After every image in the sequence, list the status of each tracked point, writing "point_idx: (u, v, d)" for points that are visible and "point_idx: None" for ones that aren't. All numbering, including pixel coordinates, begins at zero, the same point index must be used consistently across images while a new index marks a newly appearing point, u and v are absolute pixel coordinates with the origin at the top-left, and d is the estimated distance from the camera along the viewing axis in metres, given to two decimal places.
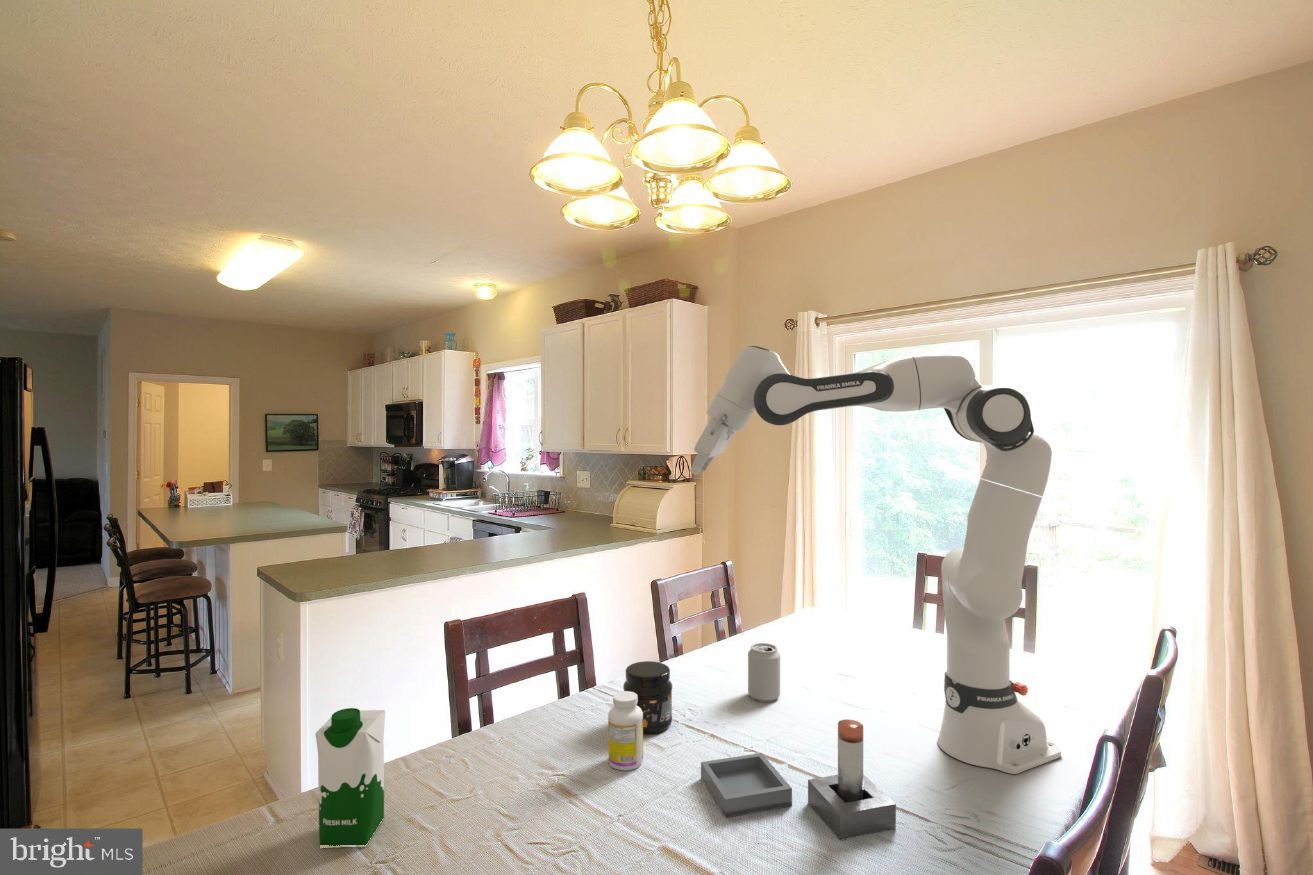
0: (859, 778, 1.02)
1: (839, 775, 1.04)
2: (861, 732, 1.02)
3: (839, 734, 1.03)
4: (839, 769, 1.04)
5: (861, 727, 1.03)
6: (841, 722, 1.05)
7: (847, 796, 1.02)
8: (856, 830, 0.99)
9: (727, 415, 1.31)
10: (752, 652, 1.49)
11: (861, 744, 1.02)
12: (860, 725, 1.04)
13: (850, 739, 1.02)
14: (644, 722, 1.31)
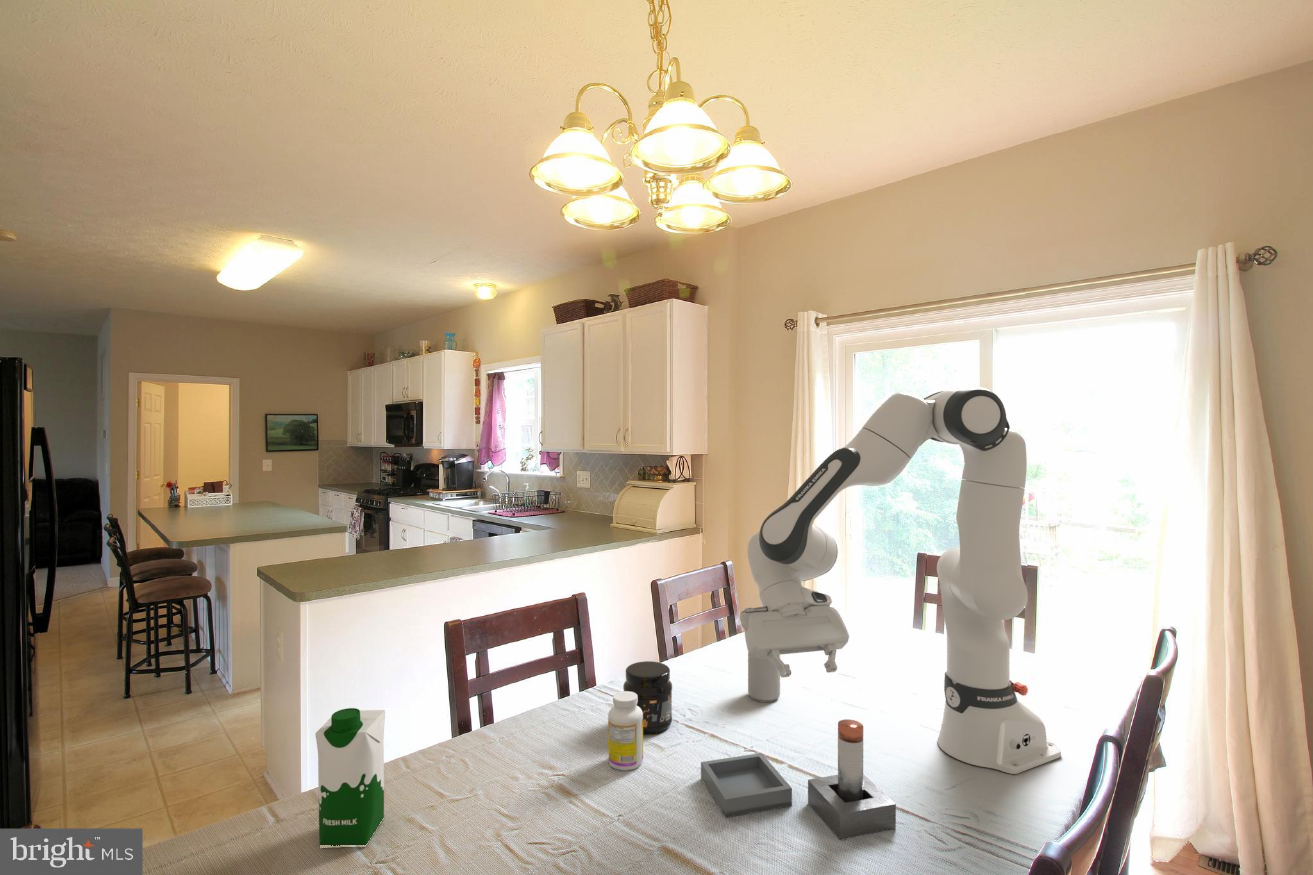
0: (859, 778, 1.02)
1: (839, 775, 1.04)
2: (861, 732, 1.02)
3: (839, 734, 1.03)
4: (839, 769, 1.04)
5: (861, 727, 1.03)
6: (841, 722, 1.05)
7: (848, 796, 1.02)
8: (856, 830, 0.99)
9: (766, 605, 1.24)
10: None
11: (861, 744, 1.02)
12: (860, 725, 1.04)
13: (850, 739, 1.02)
14: (644, 722, 1.31)
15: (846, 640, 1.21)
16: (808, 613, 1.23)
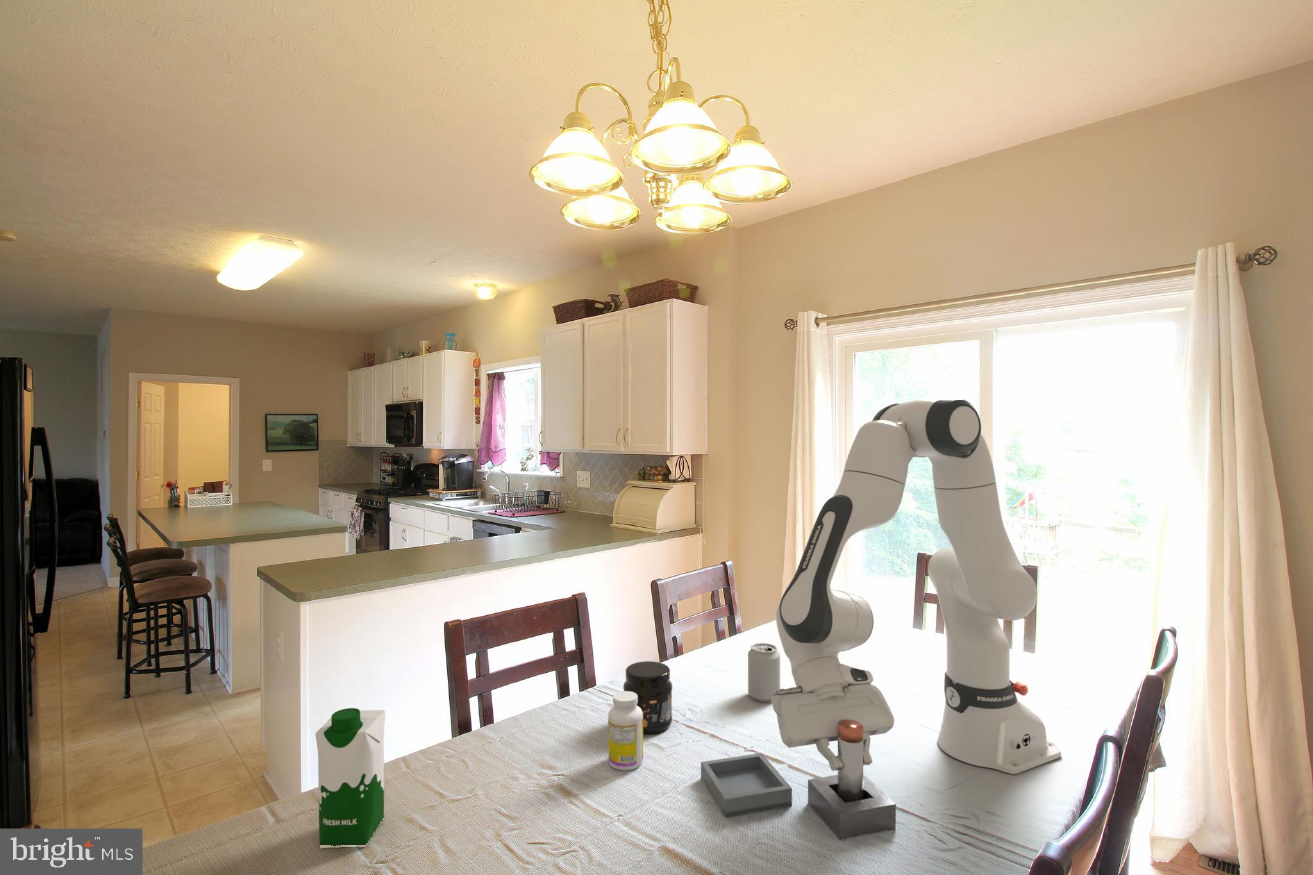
0: (858, 778, 1.02)
1: (839, 775, 1.04)
2: (861, 732, 1.02)
3: (839, 734, 1.03)
4: None
5: (861, 727, 1.03)
6: (841, 722, 1.05)
7: (847, 796, 1.02)
8: (856, 830, 0.99)
9: (800, 684, 1.11)
10: (752, 652, 1.49)
11: (861, 744, 1.02)
12: (860, 725, 1.04)
13: (850, 739, 1.02)
14: (644, 722, 1.31)
15: (891, 725, 1.08)
16: (847, 694, 1.10)
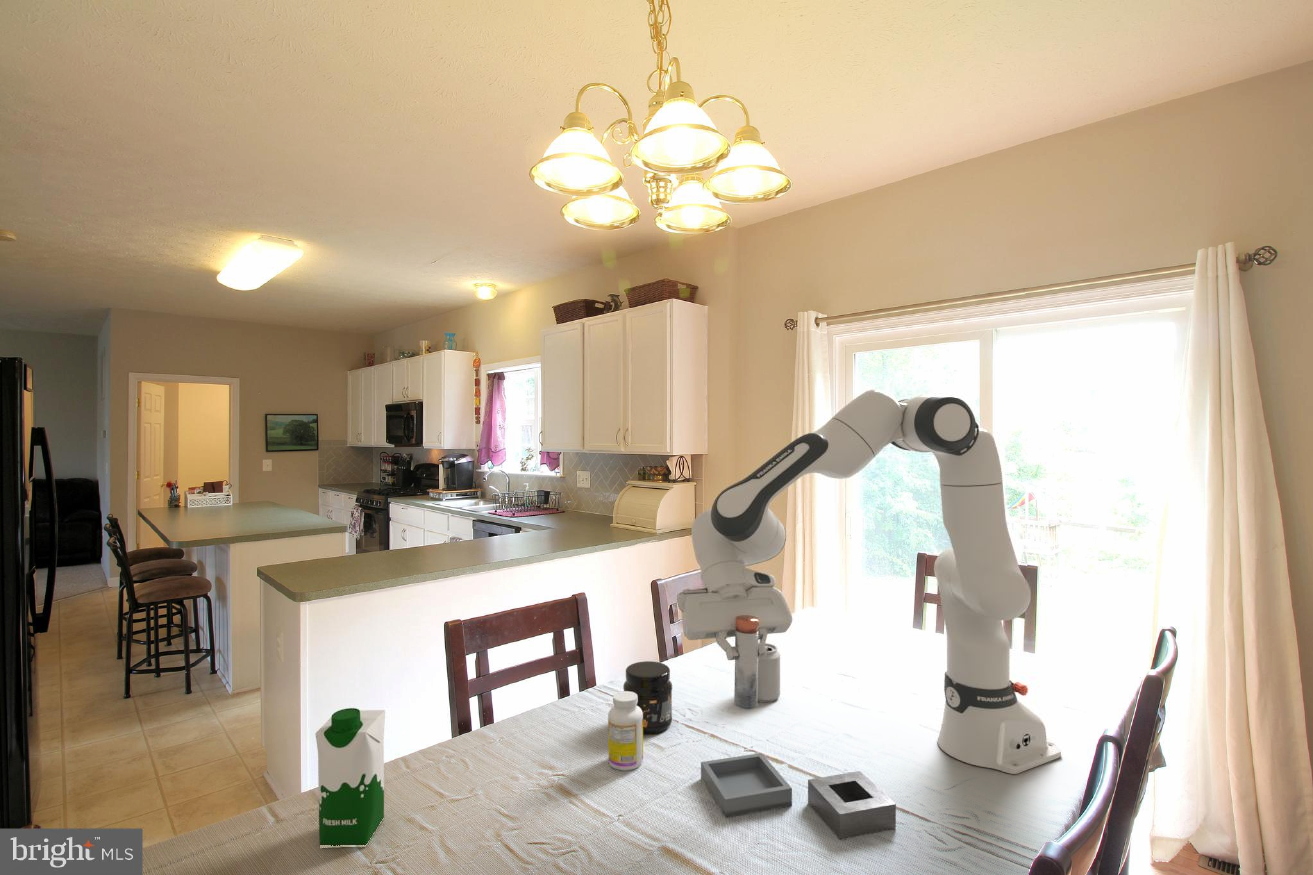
0: (752, 667, 1.08)
1: (735, 665, 1.10)
2: (755, 624, 1.09)
3: (736, 627, 1.10)
4: (735, 660, 1.10)
5: (756, 620, 1.09)
6: (739, 616, 1.11)
7: (742, 684, 1.09)
8: (856, 830, 0.99)
9: (706, 586, 1.18)
10: None
11: (755, 635, 1.09)
12: (756, 619, 1.10)
13: (745, 630, 1.08)
14: (644, 722, 1.31)
15: (789, 623, 1.14)
16: (750, 595, 1.16)
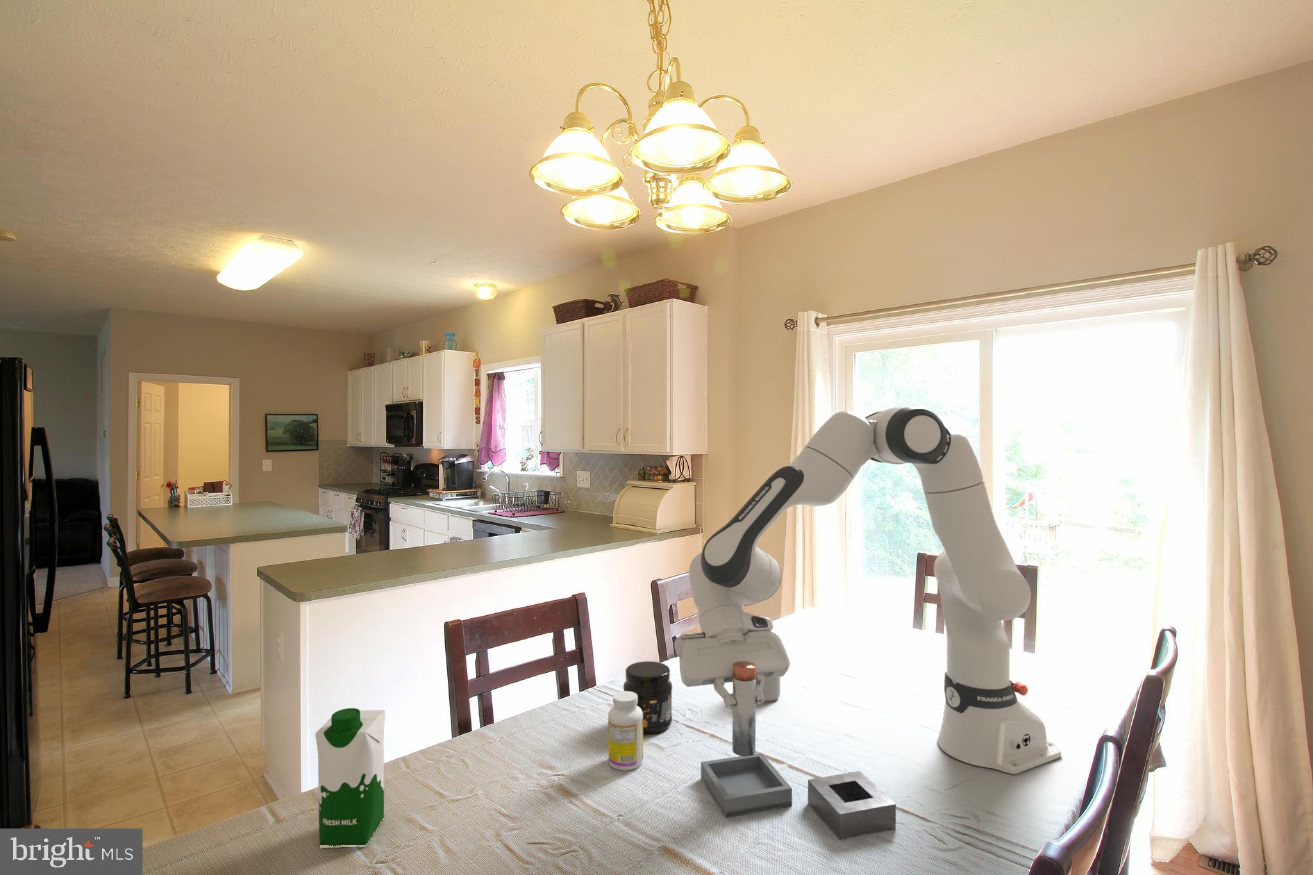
0: (750, 714, 1.09)
1: (733, 712, 1.10)
2: (753, 671, 1.09)
3: (733, 674, 1.10)
4: None
5: (753, 667, 1.10)
6: (736, 663, 1.12)
7: (740, 731, 1.09)
8: (856, 830, 0.99)
9: (703, 630, 1.18)
10: None
11: (753, 683, 1.09)
12: (753, 665, 1.10)
13: (742, 678, 1.09)
14: (644, 722, 1.31)
15: (786, 668, 1.15)
16: (747, 639, 1.17)
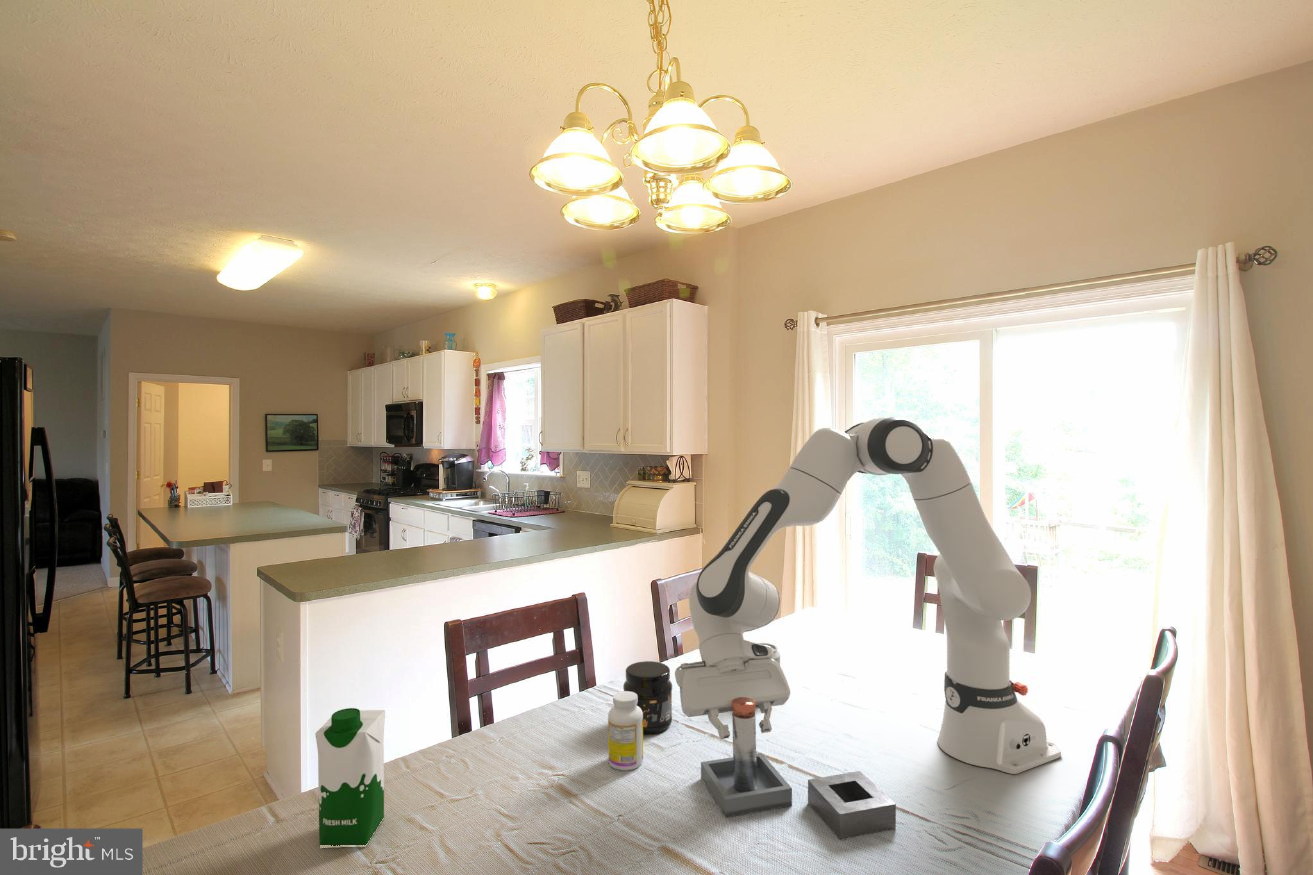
0: (750, 751, 1.09)
1: (733, 749, 1.10)
2: (752, 708, 1.09)
3: (732, 711, 1.10)
4: (733, 743, 1.10)
5: (752, 704, 1.10)
6: (735, 699, 1.12)
7: (740, 768, 1.09)
8: (856, 830, 0.99)
9: (703, 659, 1.18)
10: None
11: (752, 719, 1.09)
12: (752, 702, 1.10)
13: (741, 715, 1.09)
14: (644, 722, 1.31)
15: (787, 696, 1.15)
16: (747, 668, 1.17)
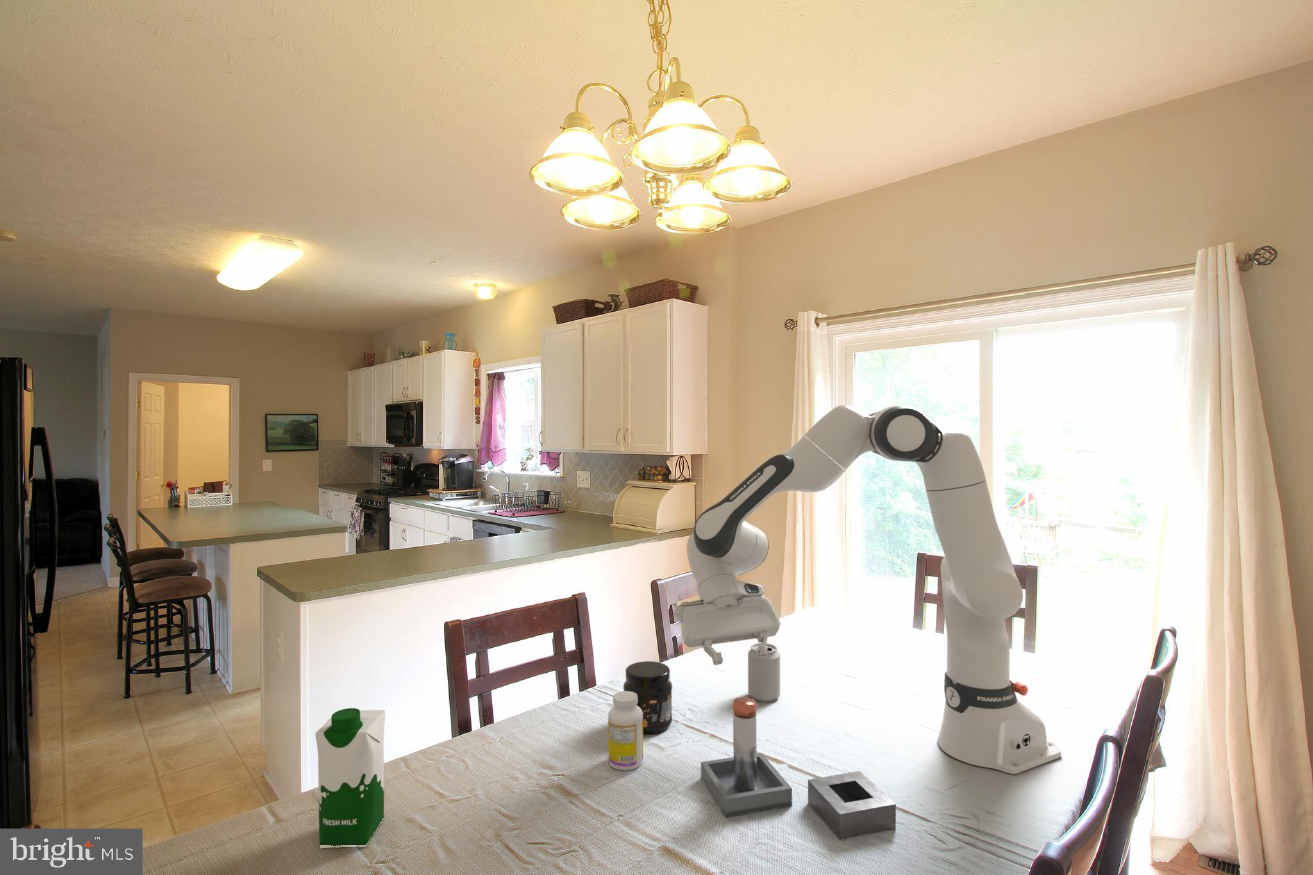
0: (751, 751, 1.09)
1: (734, 749, 1.10)
2: (753, 708, 1.09)
3: (733, 711, 1.10)
4: (734, 743, 1.10)
5: (754, 704, 1.10)
6: (736, 699, 1.12)
7: (741, 768, 1.09)
8: (856, 830, 0.99)
9: (701, 598, 1.31)
10: (752, 652, 1.49)
11: (753, 720, 1.09)
12: (753, 702, 1.10)
13: (742, 715, 1.09)
14: (644, 722, 1.31)
15: (777, 627, 1.28)
16: (741, 604, 1.30)
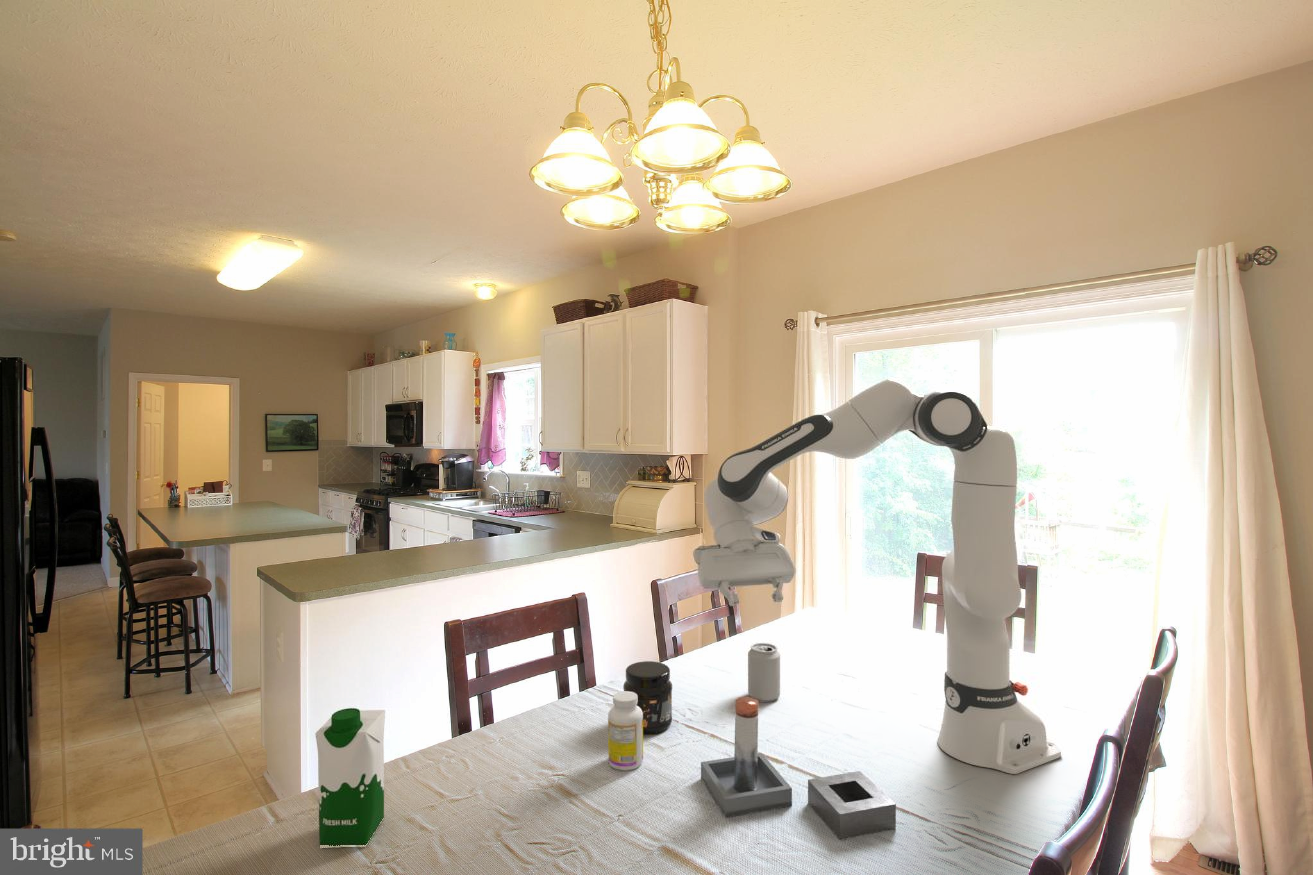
0: (752, 751, 1.09)
1: (735, 748, 1.10)
2: (755, 708, 1.09)
3: (736, 710, 1.10)
4: (735, 743, 1.10)
5: (756, 703, 1.10)
6: (739, 699, 1.12)
7: (741, 768, 1.09)
8: (856, 830, 0.99)
9: (718, 543, 1.32)
10: (752, 652, 1.49)
11: (755, 719, 1.09)
12: (756, 702, 1.11)
13: (745, 714, 1.09)
14: (644, 722, 1.31)
15: (793, 573, 1.29)
16: (758, 550, 1.31)
